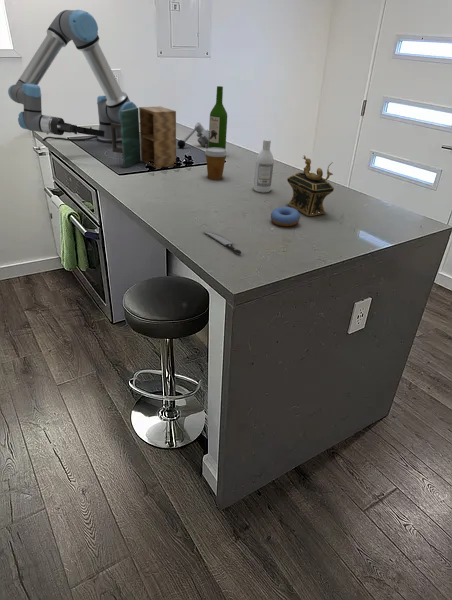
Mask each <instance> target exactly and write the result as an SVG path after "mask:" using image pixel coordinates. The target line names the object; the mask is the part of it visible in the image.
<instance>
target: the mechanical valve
mask: <svg viewBox="0 0 452 600" xmlns="http://www.w3.org/2000/svg"><path fill="white" fill-rule="evenodd" d="M195 132H197V133H196V137H198V138H197V142H198V144H199V145H200V146H201V147H205V146H208V147H209V129H205V128H204V126H203V125H202V124H201V123H200V122H197V123H195V125H194V128H193V129H192V130H191V131H190V132H189V133H188V134H187V135H186V136H185V138H183V139H180V140H178V141H177V147H178V148H179V149H184V148H185V146H186V142H187V141H188V140H189V139H190V137H192V136H193V135H194V133H195Z"/></svg>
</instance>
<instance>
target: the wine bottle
mask: <svg viewBox="0 0 452 600" xmlns="http://www.w3.org/2000/svg"><path fill="white" fill-rule="evenodd" d="M223 93H224V86H221V85H218V86H216V98H215V104H214V105H213V107H212V109H211V110H210V113H209V123H208V124H209V127H208V131H209V146H208V148H211V147H217V148H223V149H226V148H227V130H228V129H227V128H228V112H227V111H226V108H225V106H224V103H223V98H224V95H223ZM226 150H227V149H226Z"/></svg>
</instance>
